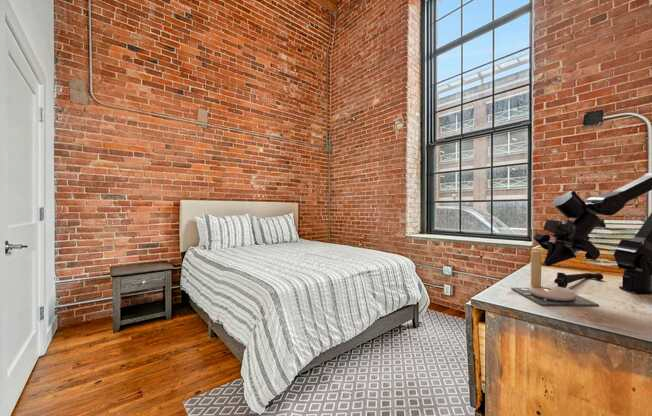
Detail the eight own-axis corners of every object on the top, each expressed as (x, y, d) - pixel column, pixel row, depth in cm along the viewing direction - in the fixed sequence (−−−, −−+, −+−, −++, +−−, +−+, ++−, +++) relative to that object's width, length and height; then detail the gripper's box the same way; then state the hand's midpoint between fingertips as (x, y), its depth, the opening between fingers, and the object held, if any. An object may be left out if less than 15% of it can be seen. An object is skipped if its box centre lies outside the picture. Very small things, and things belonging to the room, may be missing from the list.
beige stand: (541, 286, 97) (542, 248, 96) (583, 296, 87) (583, 254, 86) (521, 292, 92) (521, 251, 91) (562, 303, 82) (563, 258, 81)
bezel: (559, 289, 96) (559, 286, 96) (599, 306, 81) (599, 303, 81) (510, 289, 97) (510, 286, 97) (540, 305, 82) (540, 302, 82)
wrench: (604, 285, 106) (572, 292, 90) (586, 282, 110) (552, 289, 94) (604, 270, 106) (572, 275, 90) (585, 268, 111) (552, 272, 94)
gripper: (538, 209, 102) (507, 243, 101) (591, 212, 83) (553, 253, 83) (559, 231, 103) (529, 265, 102) (616, 239, 84) (580, 280, 83)
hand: (545, 265), depth 93 cm, fingers closed
